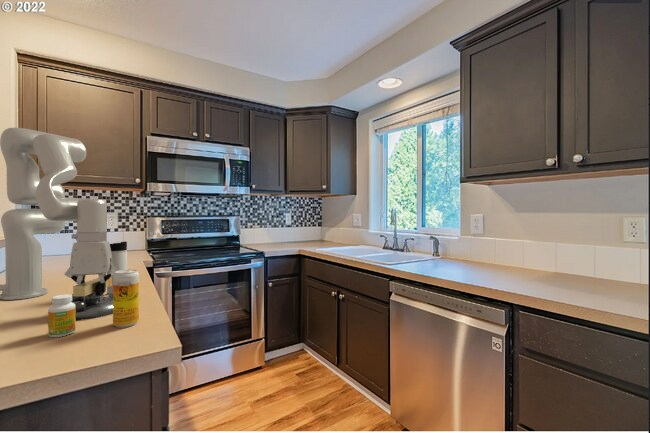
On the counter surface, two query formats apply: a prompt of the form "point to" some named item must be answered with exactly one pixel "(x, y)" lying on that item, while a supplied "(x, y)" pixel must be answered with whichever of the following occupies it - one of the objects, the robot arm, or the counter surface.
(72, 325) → the supplement bottle
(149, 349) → the counter surface
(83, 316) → the base
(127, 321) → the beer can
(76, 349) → the counter surface
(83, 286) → the orange-tipped wooden plank
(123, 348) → the counter surface
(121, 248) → the travel mug
